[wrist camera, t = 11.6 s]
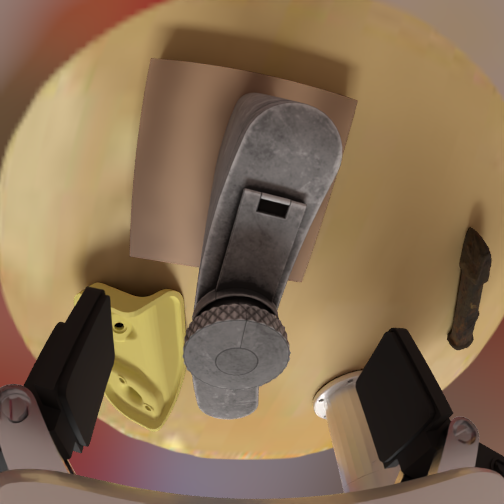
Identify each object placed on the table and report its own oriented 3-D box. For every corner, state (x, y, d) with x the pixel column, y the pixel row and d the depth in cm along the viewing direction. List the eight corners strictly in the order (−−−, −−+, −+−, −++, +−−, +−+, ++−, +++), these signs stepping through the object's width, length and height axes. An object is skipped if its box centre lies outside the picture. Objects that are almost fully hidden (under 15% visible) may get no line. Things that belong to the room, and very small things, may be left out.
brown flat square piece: (345, 98, 25) (357, 100, 22) (296, 265, 33) (301, 282, 30) (159, 60, 22) (150, 58, 19) (137, 240, 30) (129, 256, 27)
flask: (199, 256, 28) (176, 453, 12) (227, 87, 21) (218, 86, 5) (240, 262, 28) (254, 458, 13) (276, 96, 22) (390, 129, 6)
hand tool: (463, 328, 41) (477, 348, 37) (443, 337, 41) (457, 357, 37) (482, 220, 32) (505, 237, 28) (459, 227, 32) (482, 245, 28)
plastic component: (69, 287, 30) (138, 319, 27) (114, 260, 36) (182, 282, 33) (106, 406, 38) (164, 438, 35) (136, 376, 44) (191, 402, 41)
